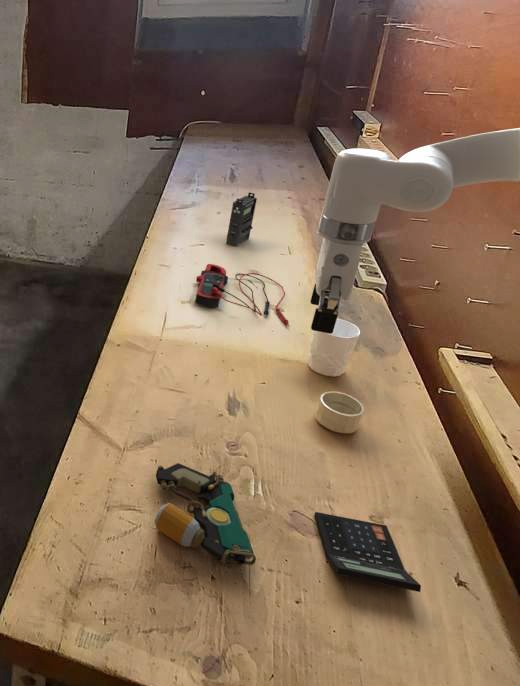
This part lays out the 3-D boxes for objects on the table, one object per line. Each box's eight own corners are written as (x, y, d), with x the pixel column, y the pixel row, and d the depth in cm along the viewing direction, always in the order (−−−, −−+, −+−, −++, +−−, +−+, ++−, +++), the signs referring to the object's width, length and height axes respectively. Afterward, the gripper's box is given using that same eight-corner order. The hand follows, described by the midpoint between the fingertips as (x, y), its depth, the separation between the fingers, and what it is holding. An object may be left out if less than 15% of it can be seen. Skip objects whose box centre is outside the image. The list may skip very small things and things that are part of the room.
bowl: (332, 406, 107) (338, 387, 105) (366, 429, 102) (373, 409, 100) (306, 416, 105) (311, 397, 103) (339, 439, 99) (345, 420, 97)
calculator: (384, 529, 83) (390, 515, 82) (414, 603, 73) (422, 588, 72) (314, 515, 85) (318, 501, 84) (333, 585, 75) (339, 570, 74)
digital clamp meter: (188, 293, 140) (203, 255, 159) (186, 308, 142) (201, 269, 161) (293, 312, 130) (295, 269, 149) (289, 329, 132) (292, 284, 151)
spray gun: (157, 467, 96) (253, 498, 90) (140, 541, 82) (251, 583, 76) (161, 448, 94) (259, 477, 88) (144, 520, 80) (259, 561, 74)
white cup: (342, 359, 121) (354, 319, 116) (351, 381, 114) (365, 340, 109) (301, 354, 123) (311, 314, 118) (308, 375, 116) (320, 334, 112)
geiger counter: (237, 248, 174) (246, 202, 167) (223, 244, 177) (231, 199, 170) (252, 238, 180) (262, 194, 173) (239, 235, 183) (247, 191, 176)
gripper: (378, 250, 82) (348, 347, 90) (368, 212, 96) (342, 299, 104) (320, 242, 86) (296, 337, 93) (318, 207, 99) (297, 292, 107)
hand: (320, 317), depth 98 cm, fingers open, 9 cm apart
